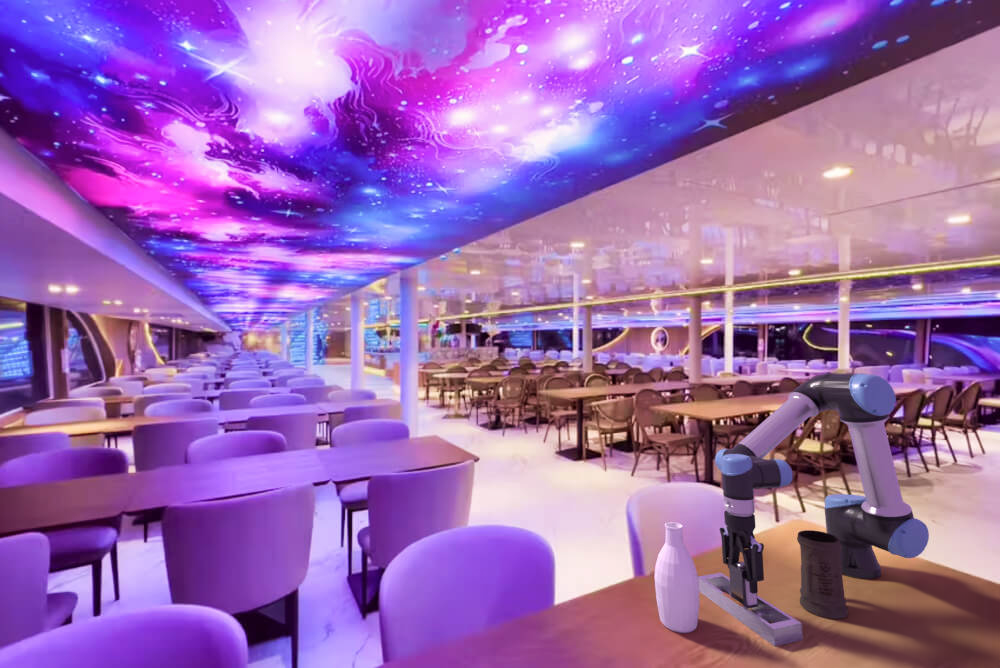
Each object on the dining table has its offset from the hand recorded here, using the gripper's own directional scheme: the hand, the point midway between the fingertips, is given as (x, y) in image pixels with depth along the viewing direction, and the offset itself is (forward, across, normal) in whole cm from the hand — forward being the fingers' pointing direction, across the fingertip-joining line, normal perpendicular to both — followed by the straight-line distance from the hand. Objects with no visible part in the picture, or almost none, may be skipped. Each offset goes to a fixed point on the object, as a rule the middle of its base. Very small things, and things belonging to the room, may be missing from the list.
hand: (744, 598), depth 122 cm
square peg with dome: (+1, 0, 0) cm, 1 cm away
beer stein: (+4, +2, +23) cm, 23 cm away
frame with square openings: (+4, 0, 0) cm, 4 cm away
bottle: (+4, -1, -20) cm, 21 cm away
